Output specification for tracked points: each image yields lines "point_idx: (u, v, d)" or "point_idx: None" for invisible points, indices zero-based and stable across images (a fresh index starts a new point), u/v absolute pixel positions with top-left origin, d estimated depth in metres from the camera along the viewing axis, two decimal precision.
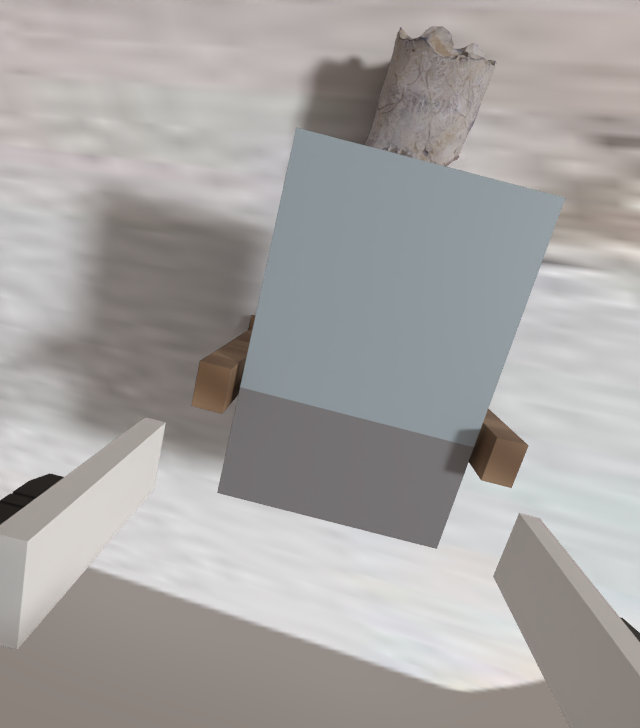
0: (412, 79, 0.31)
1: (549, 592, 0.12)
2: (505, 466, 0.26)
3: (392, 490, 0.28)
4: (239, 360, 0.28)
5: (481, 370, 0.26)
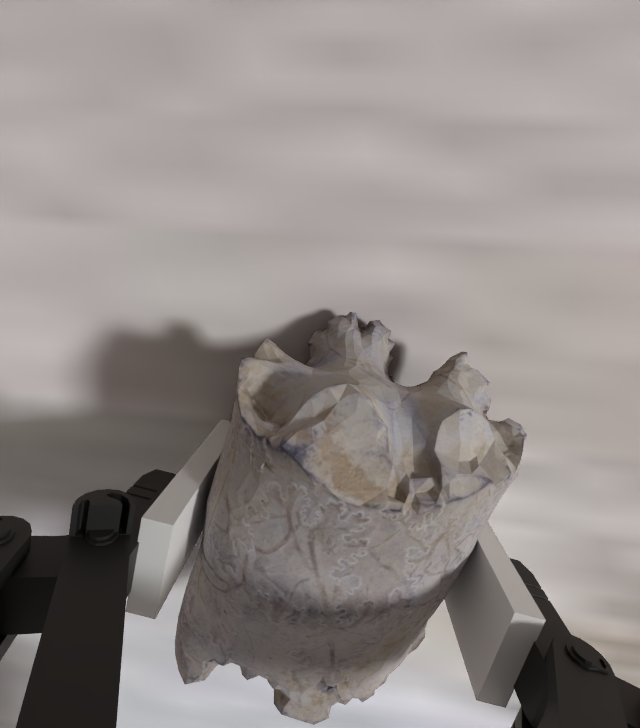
0: (270, 538, 0.10)
1: None
2: None
3: None
4: None
5: None
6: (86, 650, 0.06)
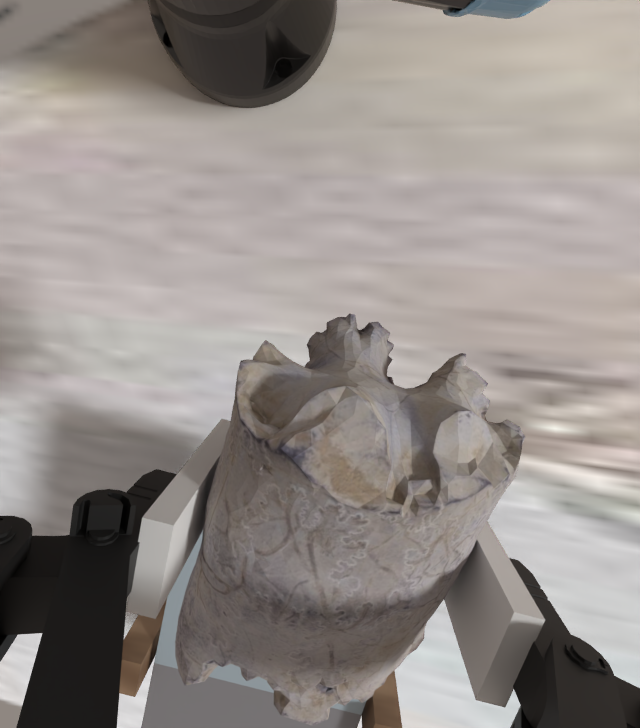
0: (270, 540, 0.10)
1: None
2: None
3: None
4: (155, 633, 0.31)
5: None
6: (87, 650, 0.06)
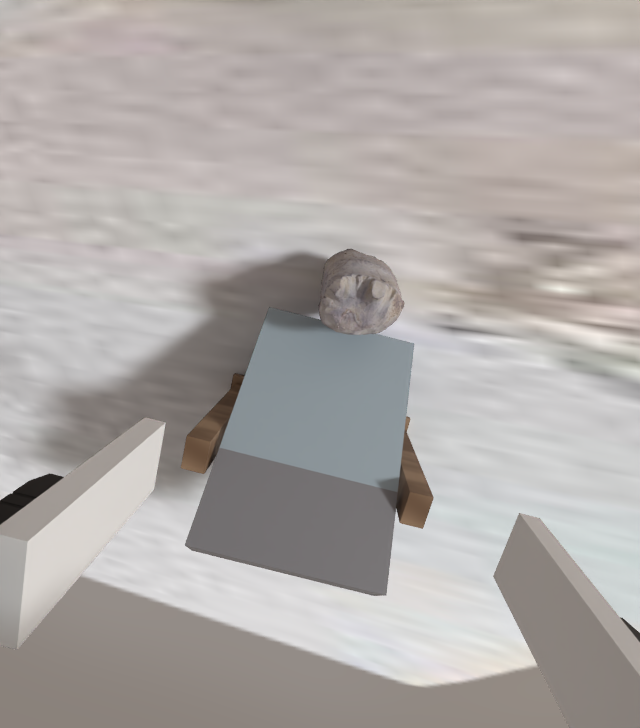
0: (351, 258, 0.40)
1: (549, 591, 0.12)
2: (417, 512, 0.34)
3: (340, 533, 0.33)
4: (217, 430, 0.36)
5: (390, 434, 0.38)
6: None
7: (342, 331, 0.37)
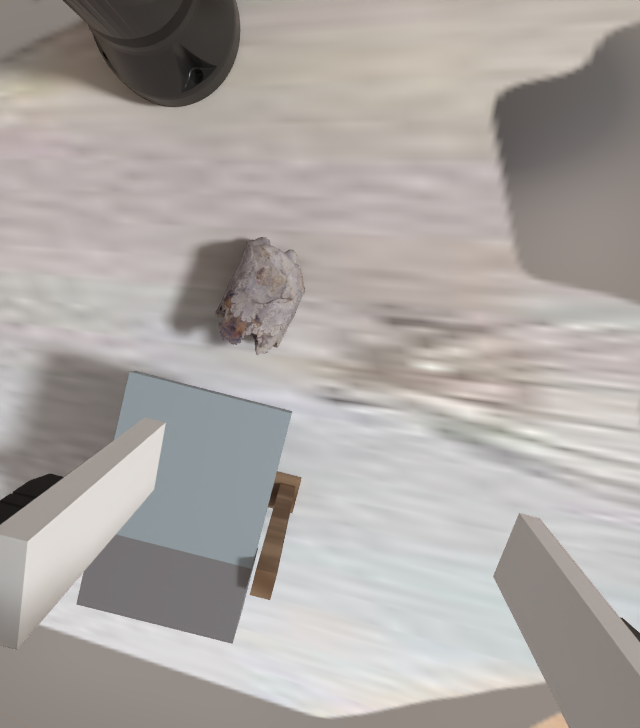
0: None
1: (549, 591, 0.12)
2: (264, 586, 0.39)
3: (198, 600, 0.41)
4: None
5: (251, 517, 0.40)
6: None
7: (269, 247, 0.43)
